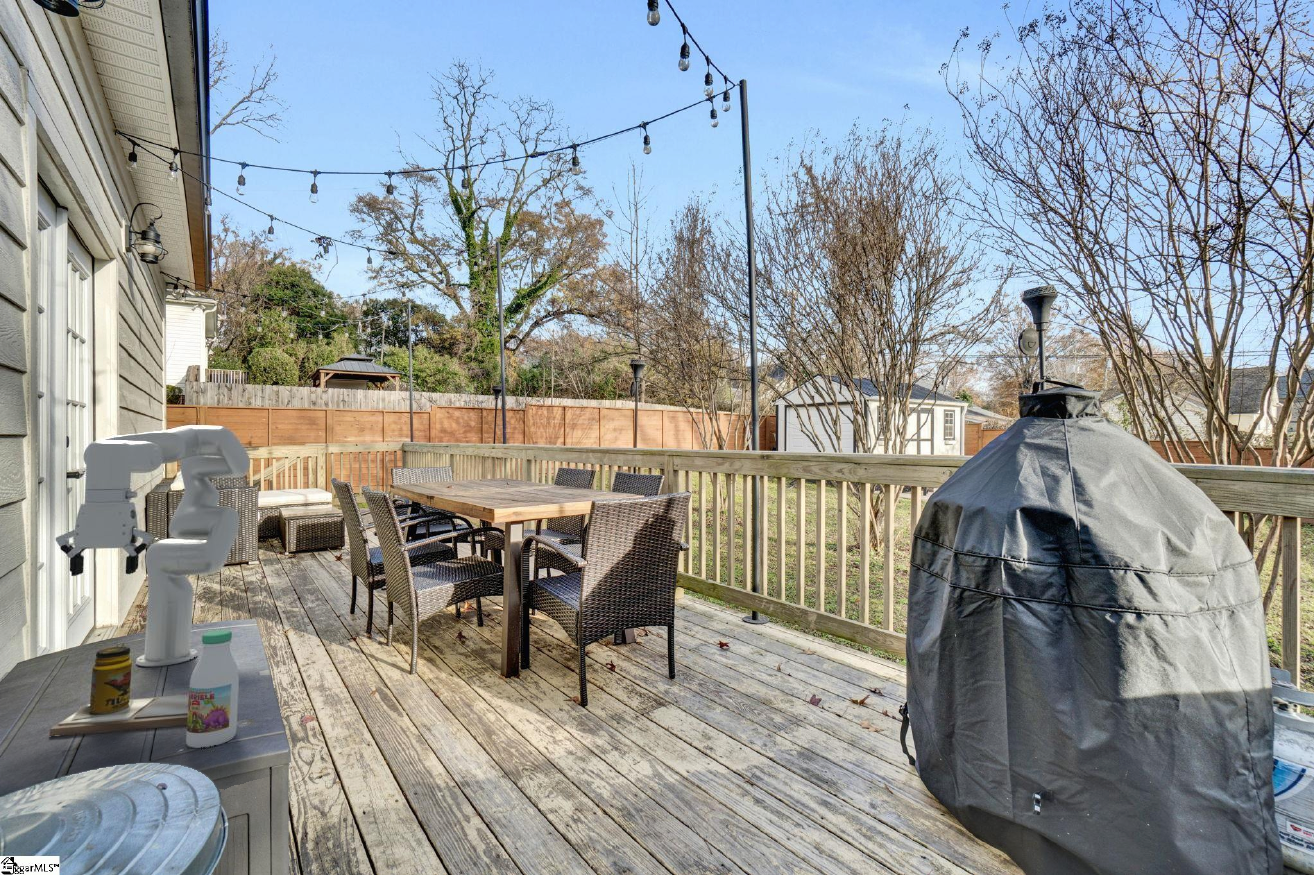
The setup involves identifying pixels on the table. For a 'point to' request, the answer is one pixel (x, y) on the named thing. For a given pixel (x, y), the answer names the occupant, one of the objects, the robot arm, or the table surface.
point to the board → (130, 717)
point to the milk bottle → (213, 693)
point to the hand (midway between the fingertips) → (104, 573)
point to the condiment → (109, 684)
